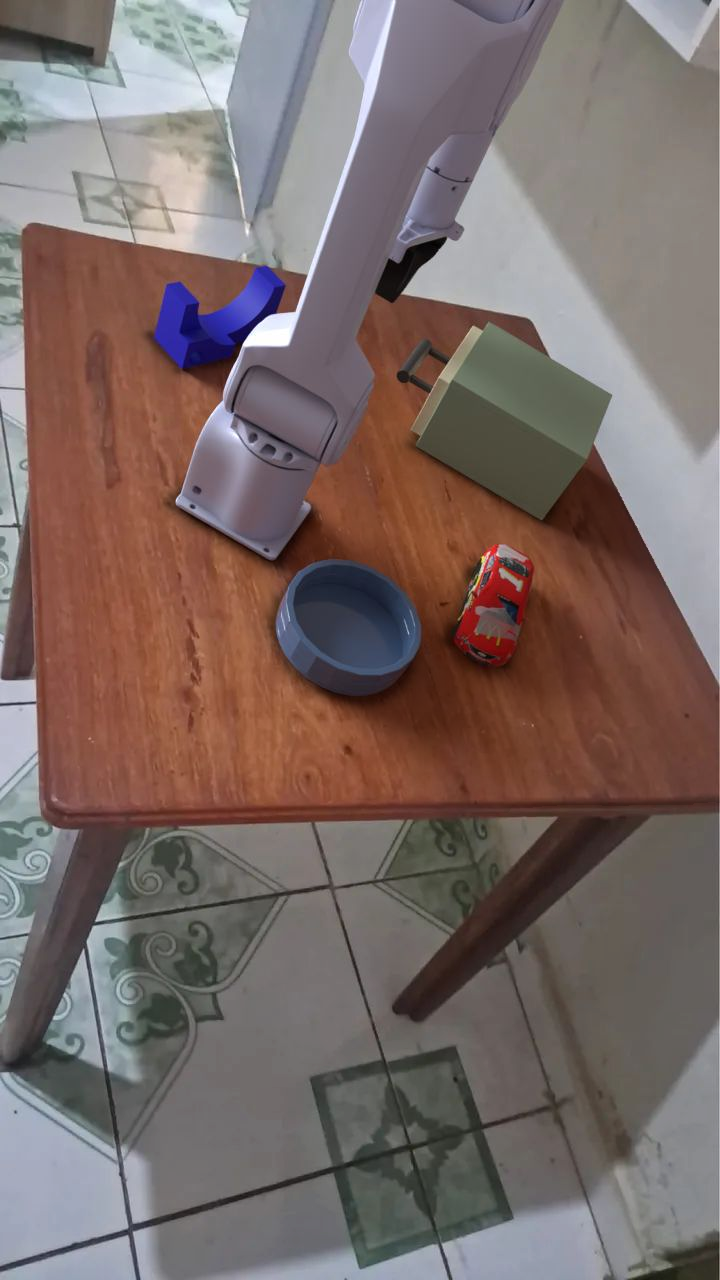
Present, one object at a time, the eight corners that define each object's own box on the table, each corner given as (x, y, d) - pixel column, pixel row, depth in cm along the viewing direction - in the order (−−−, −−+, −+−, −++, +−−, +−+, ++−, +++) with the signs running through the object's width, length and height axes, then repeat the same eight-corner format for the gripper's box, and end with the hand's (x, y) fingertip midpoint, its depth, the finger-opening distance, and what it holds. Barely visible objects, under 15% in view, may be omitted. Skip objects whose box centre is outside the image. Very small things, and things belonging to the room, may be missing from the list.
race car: (498, 682, 80) (521, 655, 77) (442, 652, 80) (462, 624, 77) (529, 581, 89) (551, 554, 86) (478, 554, 88) (498, 525, 85)
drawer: (376, 410, 94) (402, 355, 89) (414, 358, 102) (440, 305, 97) (527, 499, 94) (562, 450, 89) (553, 441, 102) (587, 392, 97)
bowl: (251, 647, 73) (262, 624, 71) (310, 560, 80) (321, 537, 78) (377, 720, 73) (392, 700, 71) (424, 627, 80) (439, 606, 78)
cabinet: (415, 446, 94) (451, 379, 88) (453, 386, 103) (489, 321, 96) (541, 520, 95) (587, 459, 88) (569, 455, 103) (612, 394, 97)
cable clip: (181, 369, 89) (196, 316, 84) (153, 337, 90) (166, 283, 85) (277, 345, 96) (295, 294, 92) (250, 316, 97) (267, 265, 93)
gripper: (460, 215, 77) (396, 349, 87) (506, 160, 87) (444, 286, 97) (384, 170, 77) (329, 310, 87) (440, 120, 87) (384, 251, 97)
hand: (385, 295), depth 92 cm, fingers closed
